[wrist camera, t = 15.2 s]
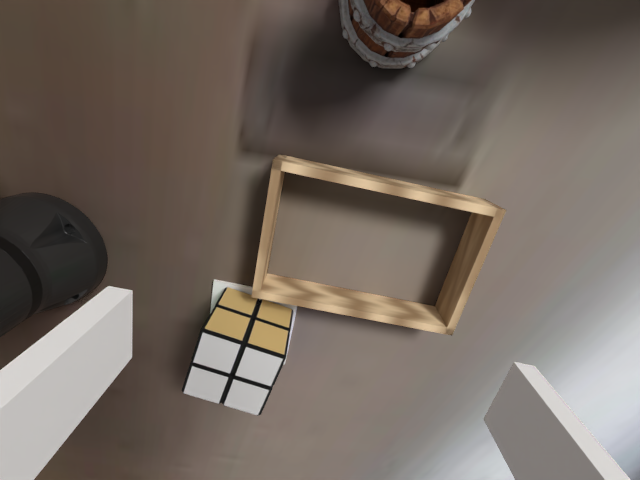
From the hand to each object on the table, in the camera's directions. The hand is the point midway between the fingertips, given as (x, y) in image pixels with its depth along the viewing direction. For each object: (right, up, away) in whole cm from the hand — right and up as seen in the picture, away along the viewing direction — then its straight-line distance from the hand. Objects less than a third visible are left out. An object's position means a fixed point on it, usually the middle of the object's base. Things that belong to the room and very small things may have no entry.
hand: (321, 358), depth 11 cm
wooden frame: (+6, +4, +31) cm, 32 cm away
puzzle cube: (-10, -8, +36) cm, 38 cm away
